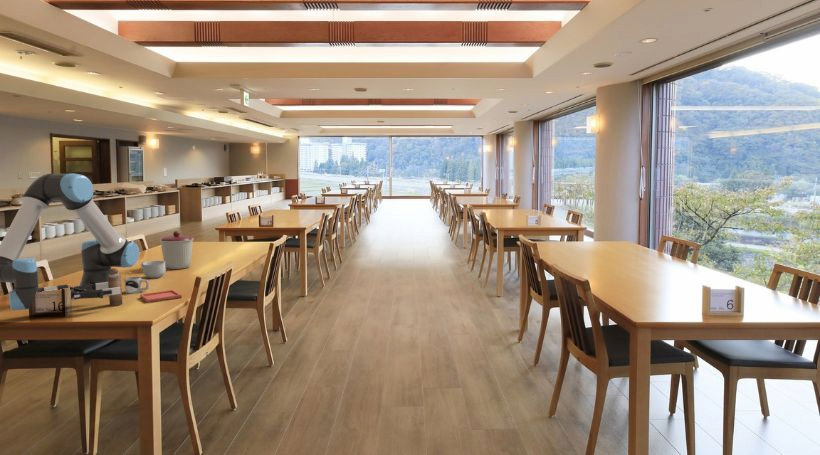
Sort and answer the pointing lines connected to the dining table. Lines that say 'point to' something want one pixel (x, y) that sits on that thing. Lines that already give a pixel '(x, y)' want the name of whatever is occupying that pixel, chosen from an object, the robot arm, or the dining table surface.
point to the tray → (160, 296)
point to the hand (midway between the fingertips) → (116, 287)
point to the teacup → (154, 269)
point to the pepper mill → (114, 282)
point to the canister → (177, 250)
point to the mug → (135, 285)
